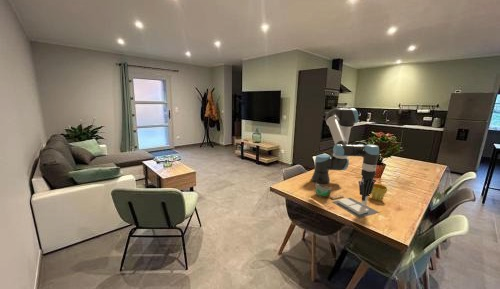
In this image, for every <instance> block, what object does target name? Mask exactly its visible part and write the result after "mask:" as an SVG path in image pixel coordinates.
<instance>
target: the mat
mask: <svg viewBox="0 0 500 289" xmlns="http://www.w3.org/2000/svg"><path fill="white" fill-rule="evenodd" d="M346 198H347V199H349V200H351V201H353V202H355V203H356V204H359V205H361V206H362V207H364V208H366V209H368V210H369V211H368V213H365V214H361V215H358V214H357V213H355V212H353V211H351V210H350V209H349V208H346V207H344V206H343V205H341V204H339V203H338V200H332V201H331V203H332V204H333V205H335V206H337V207H339V208H341V209H342V210H344V211H346V212H347V213H349V214H351V215H353V216H354V217H356V218H358V219H361V218H362V219H363V218H365V217H369V216H372V215H375V214H379V213H380V211H378V210H375V209H374V208H371V207H370V206H367V205H366V206H364V205H362V204H361V202H360V201H358V200H357V199H354V198H352V197H346Z"/></svg>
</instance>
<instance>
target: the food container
mask: <svg viewBox="0 0 500 289" xmlns="http://www.w3.org/2000/svg"><path fill="white" fill-rule="evenodd" d="M314 187H315V196H316V197H317V198H320V199H330V197H331V192H332V190H333V187H332V186H327V185H326V184H320V183H317V182H315V185H314Z"/></svg>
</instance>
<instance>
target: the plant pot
mask: <svg viewBox="0 0 500 289" xmlns="http://www.w3.org/2000/svg"><path fill="white" fill-rule="evenodd" d="M387 192H388V187H387V185H383V184H380V183H374V186H373V189H372V192H371V194H370V195H371V199H373V200H375V201H378V202H381V201H383V200H384V197H385V194H387Z"/></svg>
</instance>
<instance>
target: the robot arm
mask: <svg viewBox="0 0 500 289" xmlns="http://www.w3.org/2000/svg"><path fill="white" fill-rule="evenodd" d="M325 122H326V125H327V126H328V128H329V131H330V134H331V136H332V140H333V142H334V145H333V149H332V151H333V153H332V156H331V155H329V154H327V153H326V154H325V153H323V154H317V155H316V156H315V160H314V172H313V174H312V176H311V181H312V182H314V183H316V182H317V183H318V184H321V185H326V184H329V183H330V180H331V179H330V175H329V171H345V170H347V169H348V168H349V165H350V160H349V158H348V157H362V166H361V171H360V172H361V174H360V175H361V176H362V178H361V180H359V181H358V184H359V185H358V186H359V188H358V189H359V195H361V202H360V203H361V204H362V205H364V206H367V205H368V200H369V199H368V198H369V197H370V196H371V195H372V194H371V192H372V189H373V186H374V184H376V182H377V180H376V179H374V178H376V171H377V166H378V165H377V164H378V161H379V155H380V147H379V145H375V144H363V143H359V144H349V139H350V134H351V129H352V128H353V127H354V125H355V124H357V123H358V122H359V112H358V110H357V109H356V108H351V107H336V108H332V109H330V110H329V111H328V112H327V113H326V116H325Z"/></svg>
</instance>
